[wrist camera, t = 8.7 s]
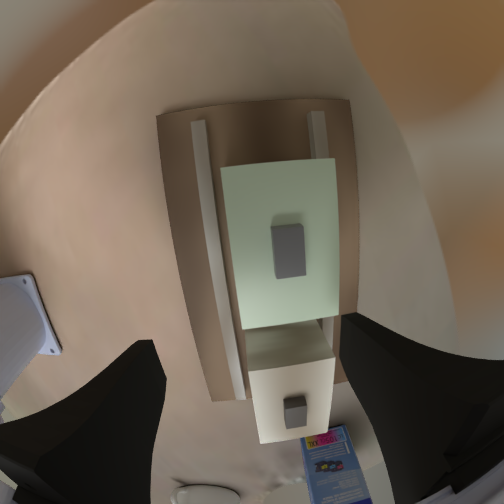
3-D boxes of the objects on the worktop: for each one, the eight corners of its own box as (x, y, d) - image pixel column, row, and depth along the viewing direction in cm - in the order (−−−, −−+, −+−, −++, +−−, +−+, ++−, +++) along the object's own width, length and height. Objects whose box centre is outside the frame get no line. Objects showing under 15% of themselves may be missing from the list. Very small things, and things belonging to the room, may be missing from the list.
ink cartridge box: (295, 433, 25) (322, 549, 11) (345, 420, 25) (387, 528, 11) (302, 469, 28) (322, 557, 14) (342, 458, 28) (371, 543, 14)
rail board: (212, 393, 22) (208, 466, 15) (160, 118, 16) (111, 88, 8) (345, 373, 23) (377, 437, 15) (343, 102, 16) (407, 71, 9)
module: (239, 278, 18) (242, 337, 12) (225, 167, 16) (219, 167, 10) (307, 269, 18) (342, 321, 12) (300, 160, 16) (340, 157, 10)
